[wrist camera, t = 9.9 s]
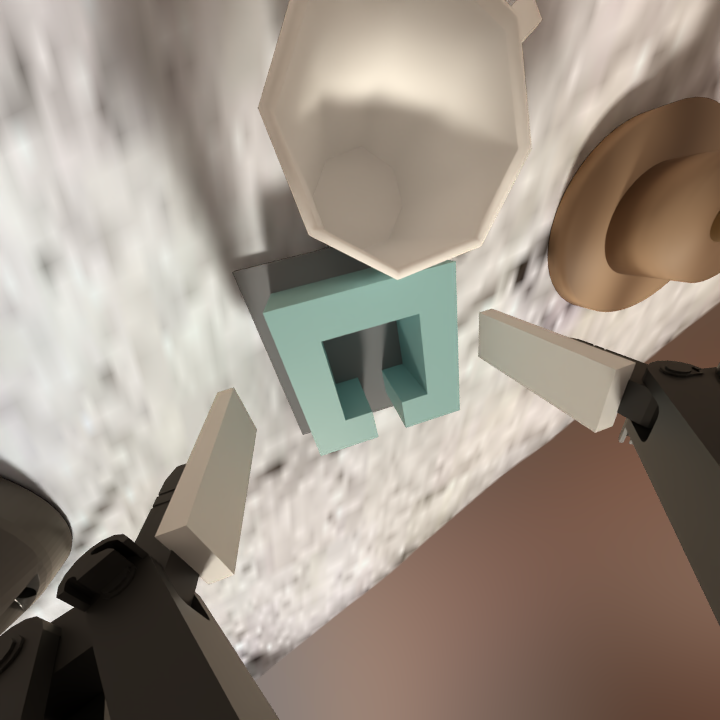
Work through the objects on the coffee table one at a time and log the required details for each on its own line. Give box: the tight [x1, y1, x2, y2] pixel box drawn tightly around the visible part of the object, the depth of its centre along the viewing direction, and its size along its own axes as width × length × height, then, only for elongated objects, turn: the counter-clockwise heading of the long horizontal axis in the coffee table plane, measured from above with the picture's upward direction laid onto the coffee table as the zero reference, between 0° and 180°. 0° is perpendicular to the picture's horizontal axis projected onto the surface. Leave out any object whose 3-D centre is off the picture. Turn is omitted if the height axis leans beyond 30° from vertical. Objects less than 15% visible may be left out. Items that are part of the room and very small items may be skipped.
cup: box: [258, 0, 542, 280], centre depth 10 cm, size 7×10×8 cm
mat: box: [233, 247, 403, 435], centre depth 17 cm, size 12×12×1 cm
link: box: [263, 260, 460, 456], centre depth 15 cm, size 9×9×4 cm
